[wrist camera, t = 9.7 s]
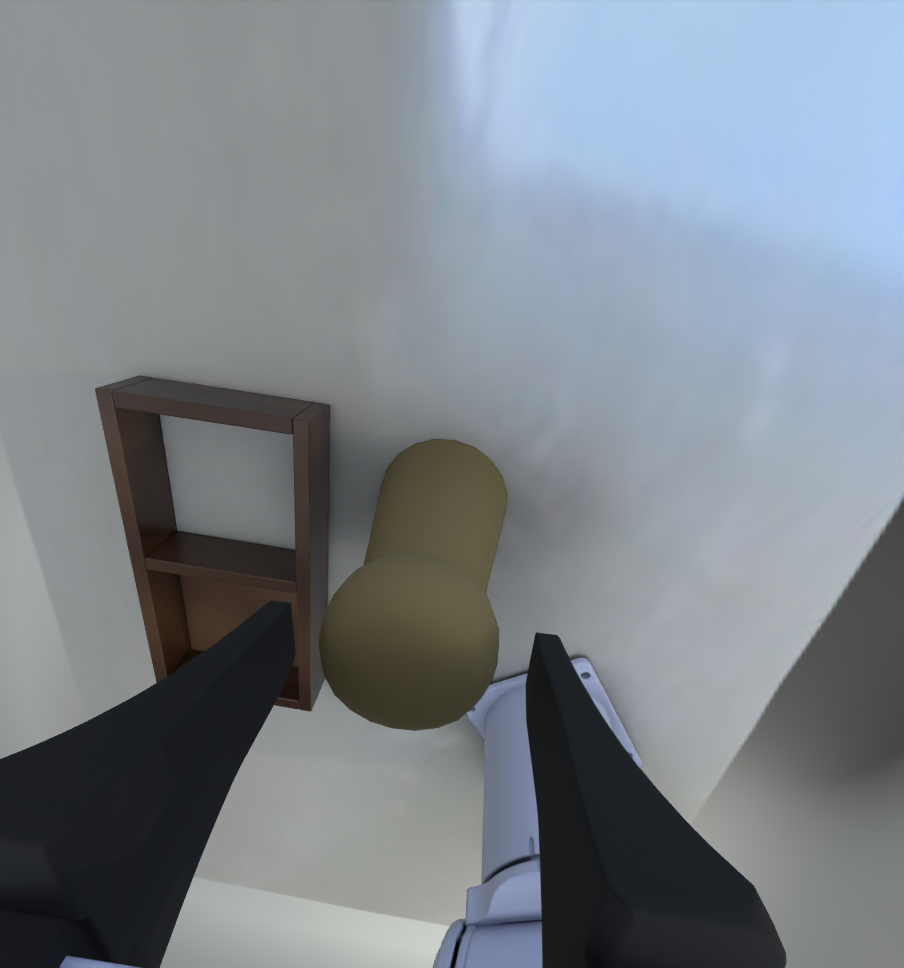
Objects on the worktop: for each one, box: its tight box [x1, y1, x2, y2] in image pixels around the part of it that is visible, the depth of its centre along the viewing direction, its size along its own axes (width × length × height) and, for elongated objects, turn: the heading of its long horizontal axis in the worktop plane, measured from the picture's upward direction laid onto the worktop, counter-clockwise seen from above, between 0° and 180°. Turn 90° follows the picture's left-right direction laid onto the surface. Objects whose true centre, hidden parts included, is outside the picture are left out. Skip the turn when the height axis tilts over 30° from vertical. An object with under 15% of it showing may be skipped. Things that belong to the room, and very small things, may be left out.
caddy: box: [95, 376, 330, 711], centre depth 23 cm, size 17×9×2 cm, turn 173°
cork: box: [319, 439, 507, 731], centre depth 17 cm, size 6×6×11 cm
